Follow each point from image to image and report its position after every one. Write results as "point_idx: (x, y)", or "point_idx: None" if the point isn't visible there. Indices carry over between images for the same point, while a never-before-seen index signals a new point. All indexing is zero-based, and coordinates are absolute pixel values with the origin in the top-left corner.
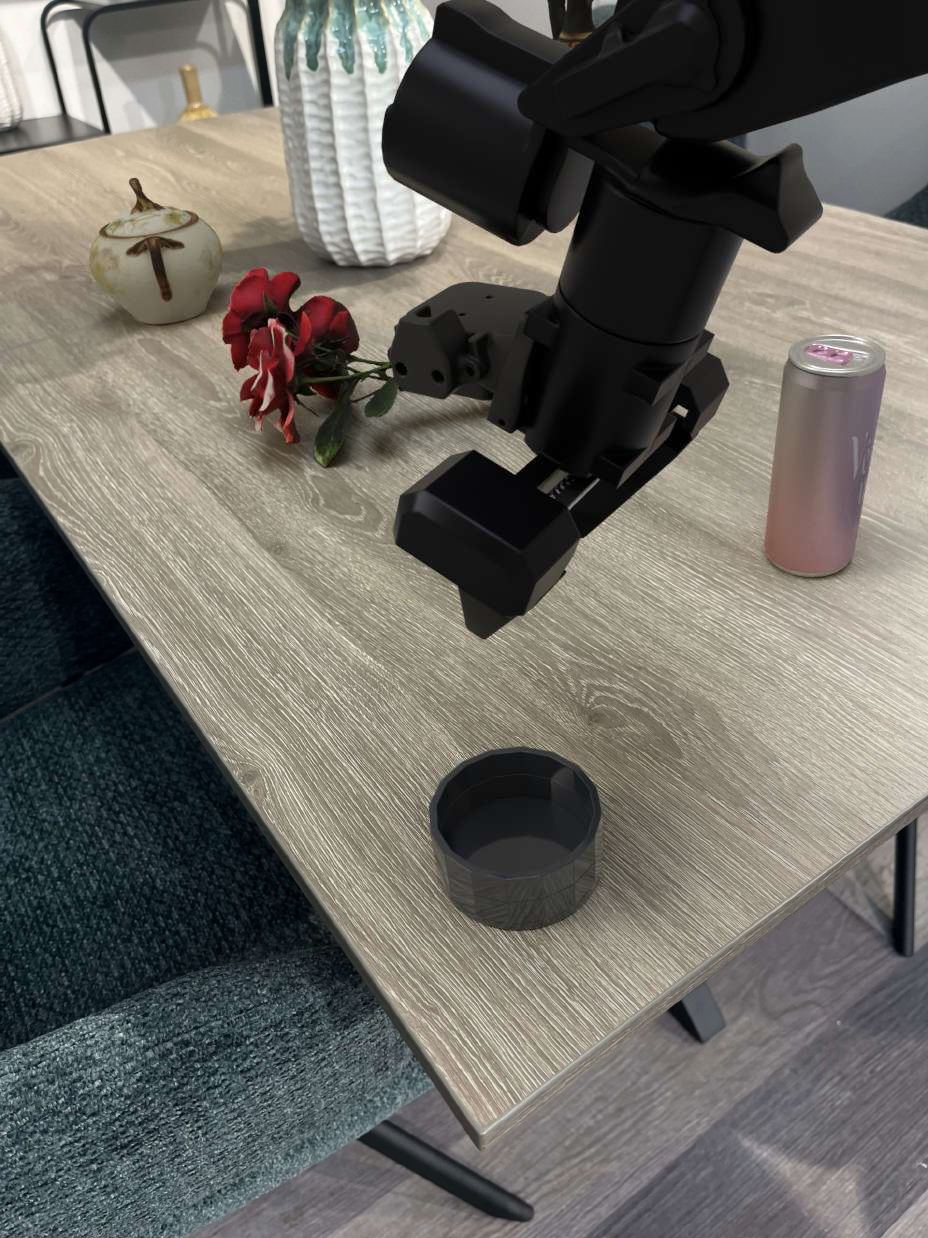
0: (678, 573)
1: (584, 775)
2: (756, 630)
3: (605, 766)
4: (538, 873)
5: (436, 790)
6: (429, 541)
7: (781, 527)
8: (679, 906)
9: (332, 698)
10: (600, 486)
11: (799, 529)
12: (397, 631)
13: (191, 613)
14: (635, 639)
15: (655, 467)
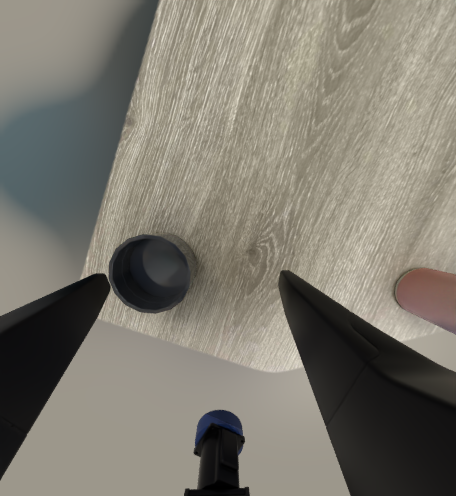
0: (375, 235)
1: (185, 292)
2: (343, 289)
3: (226, 270)
4: (125, 303)
5: (136, 236)
6: None
7: (426, 290)
8: (179, 325)
9: (196, 120)
10: (311, 341)
11: (425, 303)
12: (261, 116)
13: None
14: (312, 241)
15: (342, 462)
